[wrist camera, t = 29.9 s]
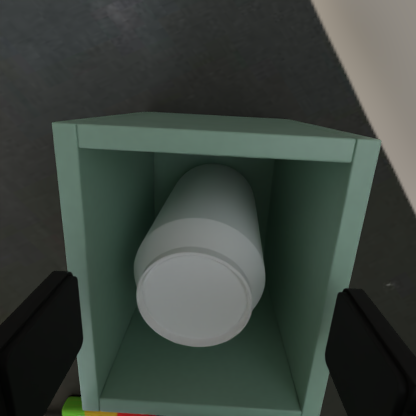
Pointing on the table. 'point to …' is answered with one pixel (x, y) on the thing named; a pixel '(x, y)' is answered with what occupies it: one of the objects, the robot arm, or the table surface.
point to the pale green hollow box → (271, 247)
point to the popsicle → (75, 408)
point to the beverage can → (202, 259)
